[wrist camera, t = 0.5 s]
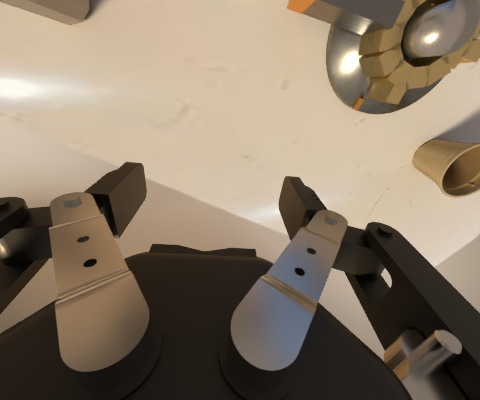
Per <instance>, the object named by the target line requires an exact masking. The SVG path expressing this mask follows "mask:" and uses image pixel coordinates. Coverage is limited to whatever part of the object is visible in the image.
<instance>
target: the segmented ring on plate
mask: <svg viewBox="0 0 480 400" xmlns="http://www.w3.org/2000/svg"><path fill="white" fill-rule="evenodd" d="M449 1H451V0H289V3H288V6H287V9H290V10H292V11H295V12H298V13H302V14H305V15H308V16H311V17H313V18H316V19H319V20H321V21H324V22H327V23H330V24H332V25H335V26H338V27H340V28H343V29H346V30H349V31H351V32H354V33H357V34H359V35H361V39H360V46H359V52H358V55H364V56H362V57H361V58H359V59H358V60H359V63H360V66H361V69H362V72H363V75H364V77H367V80H368V81H370V82H371V83H373V84H372V86H371V88H370V90H369V92H368V94H367V96H366V98H368V99H371V100H374V101H378V102H385V103H391V104H399V102H400V100H401V99H402V97H403V95H404V93H405V92H406V90H407V89H413V88H422V87H425V86H429V85H431V84H433V83H434V82H436V81H437V80H439V79H440V78H442V77H444V76H445V75H447V74H448V73H450V69H455V67H456V66H457V65H458V64H459V63H469V62H477V60H478V59H479V58H480V40H479V39H477V36H478V34H479V31H480V20H479V23H478V26H477V28H476V30H475V32H474V34H473V35H472V37H471V38H470V40H469V41H468V42H467V43H466V44H465V45H464V46H463V47H462V48H460V49H459V50H457V51H456V52H454V53H451V54H448V55H440V56H431V57H422V58H415V59H413V60H412V61H410V62H409V63H407V62H406V61H404V59H403V55H402V51H401V47H400V44H401V40H402V35H403V31H404V27H405V25H406V23H407V22H408V20H409V19H410V17H411V16H412V14H413V13H414V11H415V9H416V8H417V7H419V8H420V9H421V10H422V11H423V10H426V9H429V8H432V7H435V6H437V5H440V4H443V3H446V2H449ZM477 1H478V3H479V5H480V0H477Z"/></svg>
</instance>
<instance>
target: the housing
mask: <svg viewBox="0 0 480 400" xmlns="http://www.w3.org/2000/svg"><path fill="white" fill-rule="evenodd" d="M479 20H480V5H479V3H478V1H477V0H451V1H449V2H446V3H443V4H440V5H437V6H435V7H432V8H429V9H426V10H423V11H422V10H421V9H420V8H419V7H417V8H416V9H415V11H414V13H413V14H412V16H411V17H410V19H409V20H408V22H407V23H406V25H405V27H404V31H403V35H402V40H401V44H400V47H401V51H402V55H403V59H404V61H406V62H407V63H409V62H410V61H412V60H413V59H415V58H422V57H431V56H440V55H448V54H451V53H454V52H456V51H457V50H459V49H460V48H462V47H463V46H464V45H465V44H466V43H467V42H468V41H469V40H470V38H471V37H472V35H473V34H474V32H475V30H476V28H477V26H478V23H479ZM360 39H361V35H359V34H357V33H354V32H351V31H349V30H346V29H343V28H340V27H338V26H335V25H331V28H330V32H329V36H328V42H327V49H326V65H327V72H328V77H329V80H330V83H331V86H332V88H333V90H334V92H335V93H336V95H337V96H338V98H339V99H340V100H341V101H342V102H343V103H344V104H346V105H347V106H349V107H350V108H352V109H354V110H357V111H361V112H364V113H369V114H385V113H391V112H394V111H397V110H400V109H402V108H405V107H407V106H409V105H411V104H412V103H414V102H416V101H417V100H419V99H420V98H422V97H423V96H424V95H426V94H427V93H428V92H429V91H430V90H432V89H433V88H434V87H435V86H436V85H437V84H438V83H439V82H440V81H441V79H442V78H443V77H442V78H440V79H439V80H437V81H436V82H434V83H433V84H431V85H429V86H425V87H422V88H413V89H407V90H406V92H405V93H404V95H403V97H402V99H401V100H400V102H399V104H391V103H385V102H378V101H374V100H371V99H368V98H366V96H367V94H368V92H369V90H370V88H371V86H372V84H373V83H371V82H370V81H368V80H367V77H364V75H363V72H362V69H361V66H360V63H359V60H358V59H359V58H361V57H362V56H364V55H358V52H359V46H360Z"/></svg>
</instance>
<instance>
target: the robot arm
mask: <svg viewBox="0 0 480 400" xmlns="http://www.w3.org/2000/svg"><path fill="white" fill-rule="evenodd" d="M146 191H147V190H146V182H145V174H144V167H143V165H142V163H133V162H126V163H124V164H123V165H122V166H121V167H120V168H119V169H117V170H114V171H112V172H109V173H107V174H106V175H104V176H103V177H102V178H101V179H99V180H98V181H97V183H95V184H93V185H92V186H91V187H90V188H88V189H87V190H86V191H85V192H75V193H69V194H65V195H62V196H59V197H57V198H55V199H54V200H53V201H51V203H50V206H49V207H39V208H28V207H27V205H26V203H25V201H24V199H22V198H18V197H5V198H0V314H1V313H2V312H3V311H4V309H5V308H6V307H7V306H8V305H9V304H10V303H11V301H12V300H13V299H14V298H15V297H16V296H17V295H18V293H19V292H20V291H21V290H22V289H23V288H24V287H25V285H26V284H27V283H28V282H29V281H30V280H31V279H32V278H33V277H34V275H35V274H36V273H37V272H38V271H39V270H40V269H41V267H42V266H43V265H44V264H45V263H46V262H47V261H48V259H49V258H53V265H54V272H55V281H56V288H57V300H55V301H53V302H52V303H50V304H48V305H47V306H45V307H44V308H42V309H40V310H38V311H37V312H35V313H34V314H32V315H30V316H29V317H27V318H25V319H24V320H22V321H20V322H19V323H17V324H15V325H14V326H12V327H11V328H9V329H7V330H6V331H4V332H2V333H1V334H0V400H480V313H479V312H478V311H477V310H476V309H475V308H474V307H473V306H472V305H471V304H470V303H469V302H468V301H467V300H466V299H465V298H464V297H463V296H462V295H461V294H460V293H459V292H458V291H457V290H456V289H455V288H454V287H453V286H452V285H451V284H450V283H449V282H448V281H447V280H446V279H445V278H444V277H443V276H442V275H441V274H440V273H439V272H438V271H437V270H436V269H435V268H434V267H433V266H432V265H431V264H430V263H429V262H428V261H427V260H426V259H425V258H424V257H423V256H422V255H421V254H420V253H419V252H418V251H417V250H416V249H415V248H414V247H413V246H412V245H411V244H410V243H409V242H408V241H407V240H406V239H405V238H404V237H403V236H402V235H401V234H400V233H399V232H398V231H397V230H395V229H394V228H392V227H390V226H388V225H385V224H382V223H378V222H371V223H368V225H367V227H366V228H365V230H362V229H358V228H354V227H350V226H348V221H347V220H346V219H345V218H344V217H343V216H342V215H340V214H338V213H336V212H333V211H330V210H327V208H326V207H325V206H324V204H323V203H322V202H321V201H320V199H319V197H318V196H317V195H316V193H315V192H314V191H313V190H312V189H311V188H309V187H308V186H305V185H304V184H303V182H302V181H301V179H300V178H299V177H290V176H286V177H285V179H284V182H283V186H282V190H281V194H280V198H279V211H280V213H281V216H282V219H283V221H284V224H285V227H286V230H287V232H288V235H289V238H290V240H291V242H290V243H289V244H288V246H287V247H286V248H285V250H284V251H283V252H282V254H281V255H280V256H279V258H278V259H277V261H276V262H275V263H274V264H273V263H271V262H270V261H267V260H265V259H262V258H259V257H257V256H256V251H255V249H243V248H241V249H240V248H227V249H220V250H213V251H200V250H196V249H192V248H188V247H184V246H180V245H165V244H164V245H163V244H152V246H151V248H150V251H149V252H145V253H140V254H136V255H133V256H130V257H128V258H125V259H124V258H123V256H122V254H121V252H120V249H119V247H118V245H117V243H116V241H115V239H114V238H120V236H121V235H122V233H123V232H124V230H125V229H126V227H127V226H128V224H129V222H130V221H131V220H132V218H133V217H134V215H135V214H136V212H137V211H138V209H139V208H140V206H141V205H142V203H143V202H144V200H145V198H146ZM331 268H334V269H337V270H341V271H344V272H345V274H346V276H347V278H348V280H349V282H350V284H351V286H352V288H353V290H354V292H355V294H356V296H357V298H358V299H359V301H360V303H361V305H362V307H363V309H364V311H365V313H366V315H367V317H368V319H369V321H370V323H371V325H372V327H373V329H374V331H375V332H376V335H377V337H378V338H379V340H380V342H381V344H382V346H383V348H384V350H385V353H384V361H383V360H382V359H381V358H380V357H379V356H377V355H376V354H375V353H374V352H373V351H372V350H371V349H370V348H368V346H366V345H365V344H364V343H363V342H362V341H361V340H360V339H358V338H357V337H356V336H355V335H354V334H353V333H352V332H351V331H350V330H349V329H347V328H346V327H345V326H344V325H343V324H342V323H341V322H340V321H339V320H337V319H336V318H335V317H334V316H333V315H332V314H331V313H330V312H329V311H327V310H326V309H325V308H324V307H323V306H322V305H321V304H320V303H319V302H318V301H319V298H320V296H321V293H322V291H323V288H324V286H325V283H326V281H327V278H328V276H329V273H330V271H331ZM385 268H386V270H387V271H388V272H389V274H390V276H391V279H392V286H391V288H390V287H389V286H388V285H387V283H386V282H385V280H384V279H383V277H382V276H381V273H382V272H383V270H384V269H385Z"/></svg>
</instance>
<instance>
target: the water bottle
mask: <svg viewBox="0 0 480 400" xmlns="http://www.w3.org/2000/svg"><path fill="white" fill-rule="evenodd" d="M0 2H2V3H5V4H8V5H11V6H14V7H17V8H20V9H23V10H26V11H29V12H32V13H35V14H38V15H41V16H44V17H47V18H50V19H53V20H56V21H59V22H62V23H65V24H68V25H72V24H76V23H79V22H82V21H83V20H84V18H85V16H86V15H87V13H88V11H89V0H0Z"/></svg>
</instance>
